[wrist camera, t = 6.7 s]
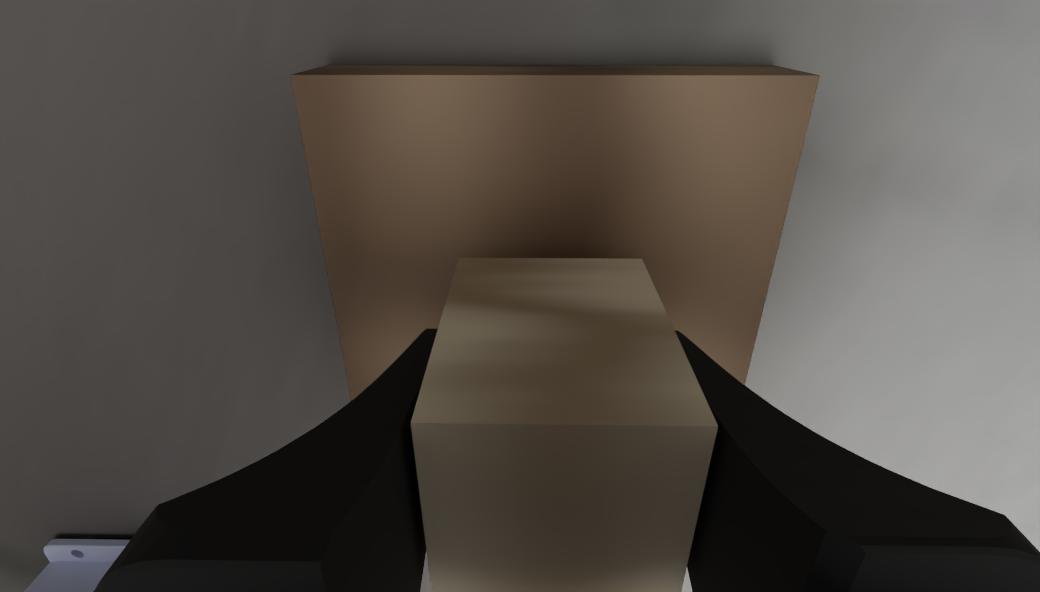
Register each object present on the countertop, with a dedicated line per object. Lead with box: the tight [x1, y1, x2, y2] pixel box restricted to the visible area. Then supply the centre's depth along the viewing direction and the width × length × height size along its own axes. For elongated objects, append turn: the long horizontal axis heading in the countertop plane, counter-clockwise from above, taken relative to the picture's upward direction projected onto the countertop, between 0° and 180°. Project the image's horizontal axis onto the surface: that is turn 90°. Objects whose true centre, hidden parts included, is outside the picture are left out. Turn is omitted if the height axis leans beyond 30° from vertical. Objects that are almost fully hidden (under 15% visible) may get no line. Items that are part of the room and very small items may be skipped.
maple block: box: [411, 258, 718, 592], centre depth 12 cm, size 4×4×6 cm
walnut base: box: [290, 65, 820, 401], centre depth 16 cm, size 12×12×2 cm
